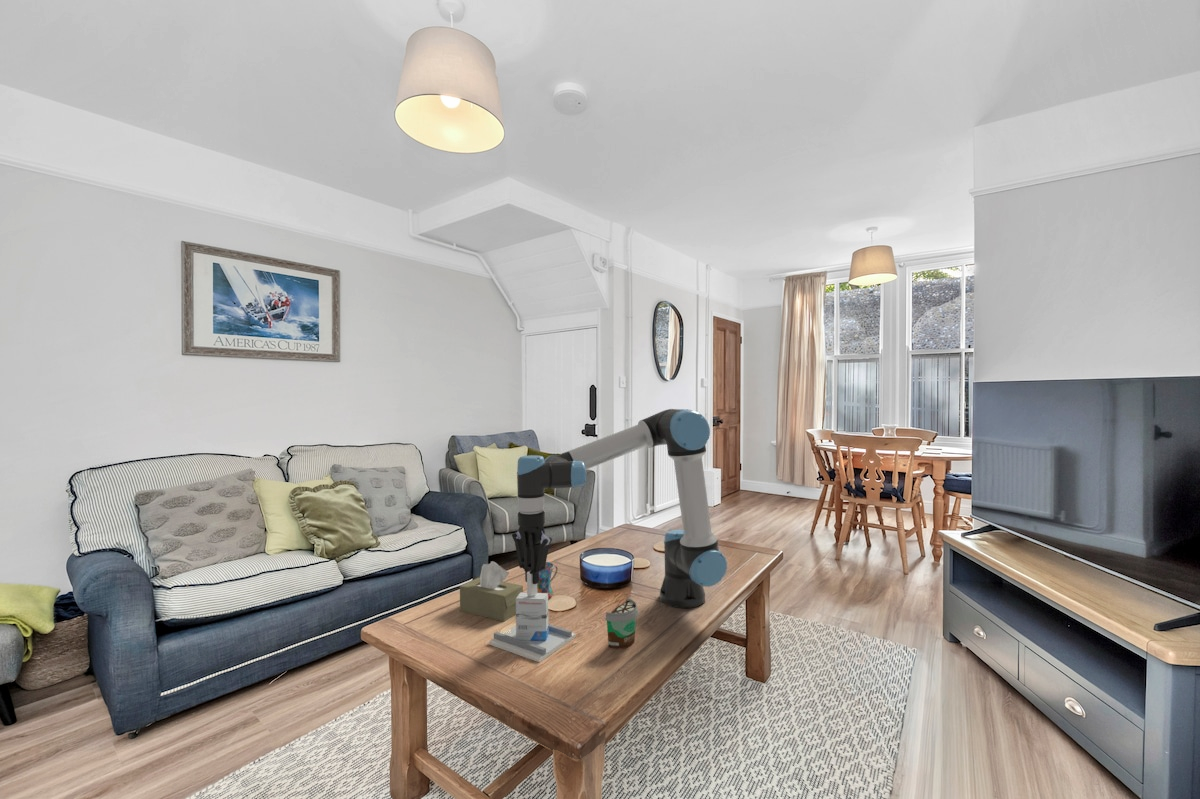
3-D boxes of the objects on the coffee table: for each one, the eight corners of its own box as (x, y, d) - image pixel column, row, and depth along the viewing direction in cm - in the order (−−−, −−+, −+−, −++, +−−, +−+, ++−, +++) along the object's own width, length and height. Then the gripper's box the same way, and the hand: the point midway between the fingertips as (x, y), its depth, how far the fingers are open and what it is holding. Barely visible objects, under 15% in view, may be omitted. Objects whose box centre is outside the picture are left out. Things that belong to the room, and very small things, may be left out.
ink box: (549, 633, 146) (548, 592, 146) (546, 641, 141) (545, 599, 141) (520, 632, 147) (519, 591, 147) (515, 640, 142) (515, 598, 142)
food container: (625, 655, 135) (625, 617, 135) (605, 649, 139) (605, 612, 138) (646, 636, 146) (646, 601, 146) (627, 631, 149) (627, 597, 149)
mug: (538, 604, 169) (538, 572, 169) (521, 596, 175) (521, 566, 175) (566, 594, 177) (565, 563, 177) (549, 587, 184) (548, 557, 184)
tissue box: (524, 610, 165) (523, 561, 164) (504, 622, 156) (504, 571, 156) (479, 599, 174) (478, 553, 173) (458, 610, 165) (458, 562, 165)
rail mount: (575, 637, 146) (575, 628, 146) (539, 662, 132) (539, 652, 132) (527, 622, 155) (527, 614, 155) (489, 644, 142) (489, 635, 142)
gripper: (557, 510, 143) (558, 594, 143) (522, 505, 150) (523, 585, 150) (540, 516, 137) (541, 604, 137) (504, 510, 144) (505, 594, 144)
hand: (532, 594), depth 144 cm, fingers closed
